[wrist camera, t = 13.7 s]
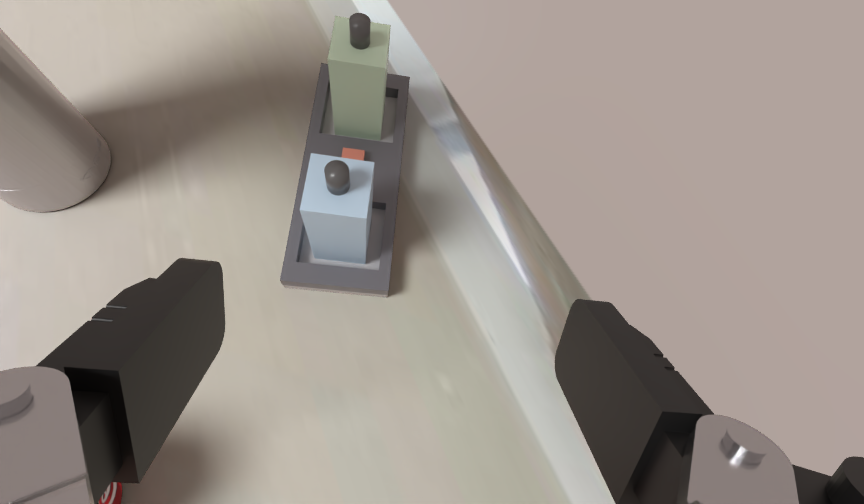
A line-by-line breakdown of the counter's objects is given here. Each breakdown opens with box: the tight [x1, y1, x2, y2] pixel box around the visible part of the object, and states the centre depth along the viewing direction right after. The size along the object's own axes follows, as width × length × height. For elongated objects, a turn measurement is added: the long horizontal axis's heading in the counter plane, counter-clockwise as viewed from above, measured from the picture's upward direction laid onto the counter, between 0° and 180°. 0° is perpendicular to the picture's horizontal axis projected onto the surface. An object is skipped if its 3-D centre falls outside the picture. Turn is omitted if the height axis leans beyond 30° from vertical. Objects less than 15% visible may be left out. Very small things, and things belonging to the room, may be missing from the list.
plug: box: [300, 153, 374, 264], centre depth 34 cm, size 4×4×12 cm
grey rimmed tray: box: [280, 63, 410, 297], centre depth 42 cm, size 9×23×3 cm, turn 176°
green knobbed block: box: [328, 13, 391, 141], centre depth 39 cm, size 4×4×12 cm
